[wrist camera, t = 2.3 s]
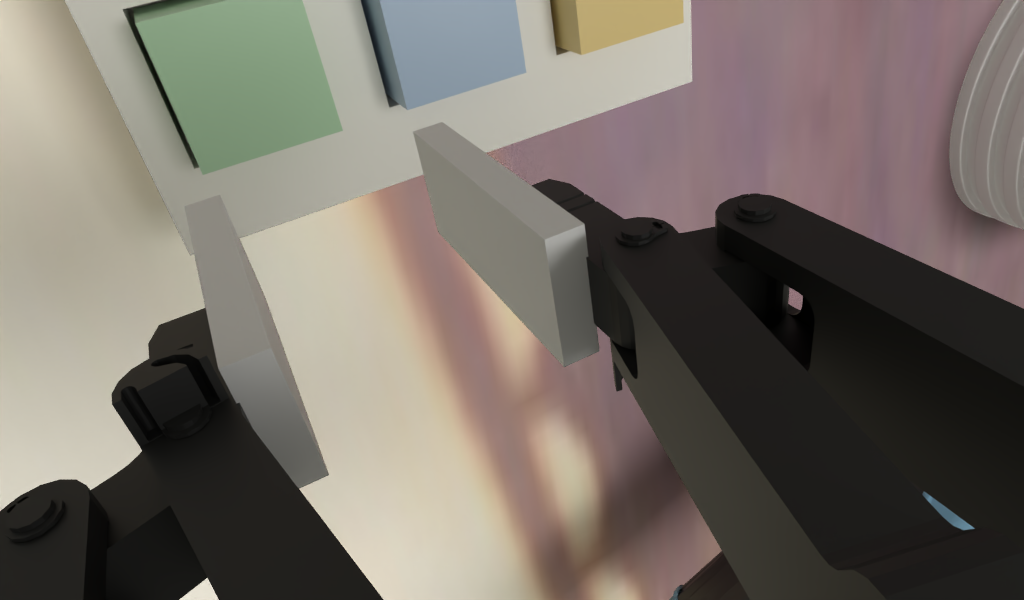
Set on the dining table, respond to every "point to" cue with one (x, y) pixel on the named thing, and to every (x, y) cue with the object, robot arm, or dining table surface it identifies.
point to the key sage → (239, 76)
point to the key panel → (368, 109)
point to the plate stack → (993, 122)
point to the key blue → (443, 46)
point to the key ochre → (609, 21)
